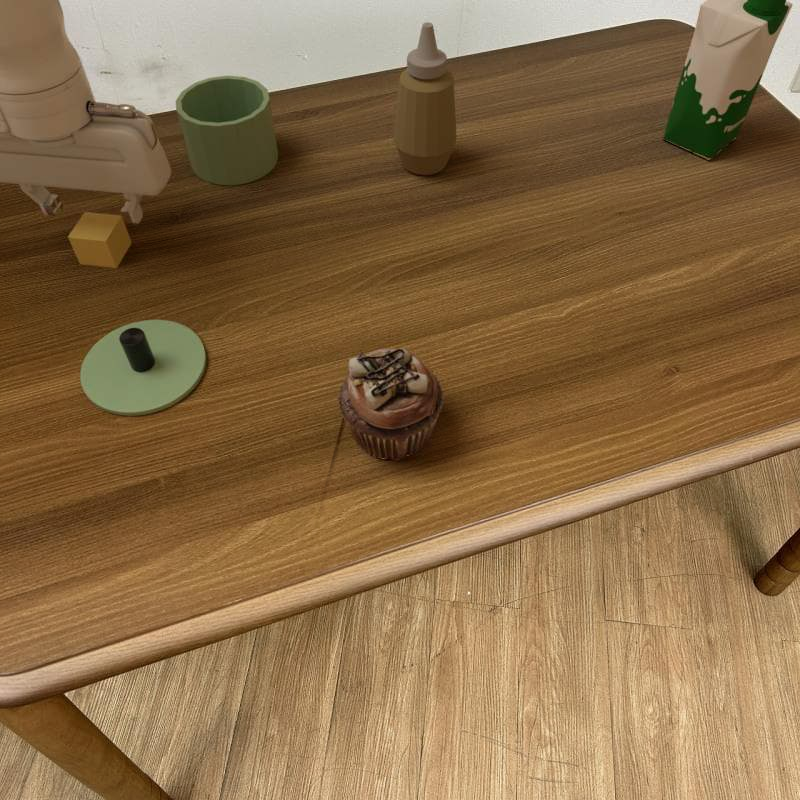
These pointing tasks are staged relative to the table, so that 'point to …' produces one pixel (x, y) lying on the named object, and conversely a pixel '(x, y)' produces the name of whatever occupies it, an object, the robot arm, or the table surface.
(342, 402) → the cupcake
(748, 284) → the table surface
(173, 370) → the lid
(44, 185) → the robot arm
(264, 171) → the tin
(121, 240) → the block
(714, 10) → the milk carton
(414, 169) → the squeeze bottle
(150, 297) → the table surface
